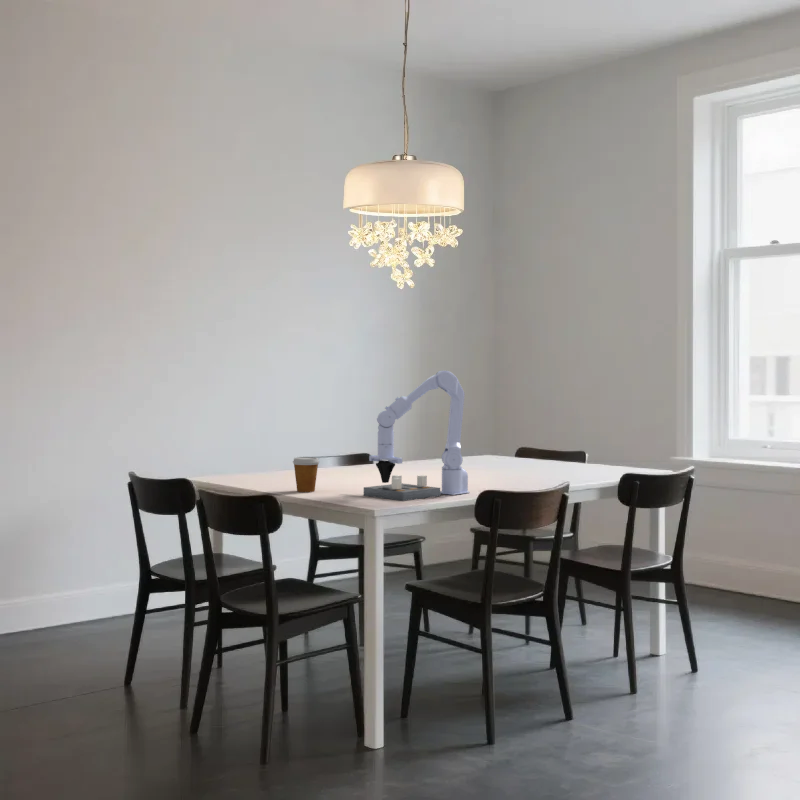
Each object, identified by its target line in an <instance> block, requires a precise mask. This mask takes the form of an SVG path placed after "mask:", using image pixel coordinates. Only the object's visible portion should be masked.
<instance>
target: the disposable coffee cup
mask: <svg viewBox="0 0 800 800" xmlns="http://www.w3.org/2000/svg"><path fill="white" fill-rule="evenodd" d="M292 463H293V467H294V475H295V476H294V477H295V483H296V491H297V492H299V493H314V492H315V491H316V482H317V476H318V465H319V463H320V461H319V458H318V457H313V456H312V457H310V456H298V457H294V458H293V461H292Z"/></svg>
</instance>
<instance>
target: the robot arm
mask: <svg viewBox="0 0 800 800" xmlns="http://www.w3.org/2000/svg"><path fill="white" fill-rule="evenodd" d="M439 388H440V389H441V390H443V391H444V392H445V393H446V394H447V395H448V396H449V397H450V403H449V412H448V413H449V415H448V424H447V425H448V426H447V435H446V442H445V447H444V450H443V452H442V454H441V461H442V463H443V466H441V490H440V495H441V494H443V495H450V496H454V495H463V494H470V491H469V489H468V488H469V486H468V485H469V484H468V483H469V475H468V472H467V470H466V469H464V468H463V467H462V465H463V464H462V463H463V462H464V461H463V456H462V453H461V451H462V447H461V439H462V438H461V437H462V436H461V435H462V428H463V427H462V426H463V416H464V405H465V396H466V395H465V391H464V389H463V386H462V385H461V383H460V381H459V379H458V377H457V375H455V374H454V373H453V372H452V371H450V370H438V371H437V372H436V373H435V374H433V375H431V376H429V377H428V378H426V379H425V380H424V381H422V382H421V384H420V385H418V386H417V387H416V388H414V389H413V390H412V391H411V392H410V393H409V394H408V395H407V396H405V395H404V396H403V395H401V396H400V397H398V396H397V397H395V399H394V401H393V402H392V403H391V404H390V405H388V406H385V407H384V409H385V410H381V411H380V412H379V413H378V415H377V418H376V421H377V423H378V426H377V455H373V454H372V455H368V456H369V457H368V459H369V460H368V461H369V462H376V463H375V466H376V468H377V469H378V472H379V475H380V479H381V482H382V484H384V483H385V484H387V483H388V484H389V482H390V479H391V476H392V472H393V469H394V468H395V466H396V464H398V465H400V464H403V457H397V456H394V455H395V449H394V448H395V447H394V446H395V443H394V442H395V439H394V438H395V431H394V425H395V422H396V420H399V419H401V418H402V417H403V416H404V415H405V414H406V413H408V412H409V411H410V410H412V406H413V405H412V404H413V403H415V402H416V401H417V400H418V399H420V398H421V397H423V396H424V395H425V394H426V393H428V392H429V391H432V390H437V389H439Z"/></svg>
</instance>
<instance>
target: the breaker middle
mask: <svg viewBox="0 0 800 800" xmlns="http://www.w3.org/2000/svg"><path fill="white" fill-rule="evenodd" d="M392 478H402V479H403V477H402V475H398V474H395V475H393V474H392V475H391V479H392ZM401 486H402V482H401Z"/></svg>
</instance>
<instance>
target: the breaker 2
mask: <svg viewBox="0 0 800 800" xmlns="http://www.w3.org/2000/svg"><path fill="white" fill-rule="evenodd" d="M427 477H428V476H427V475H424V474H422V475H421V474H419V475H417V476H416V485H417V486H428V484H427V483H428V479H427Z"/></svg>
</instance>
